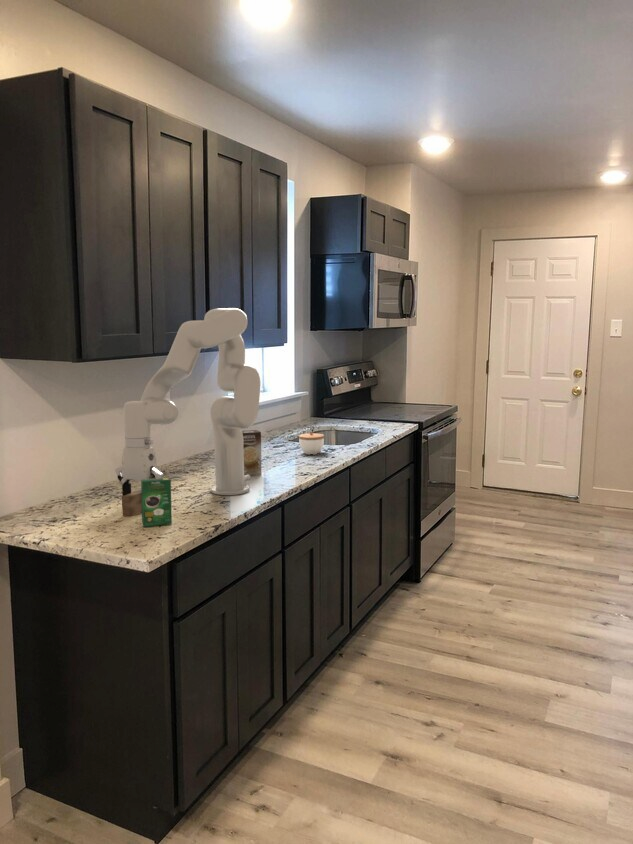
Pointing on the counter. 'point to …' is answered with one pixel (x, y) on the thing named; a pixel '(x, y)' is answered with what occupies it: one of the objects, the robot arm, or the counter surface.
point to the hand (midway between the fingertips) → (139, 498)
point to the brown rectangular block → (132, 503)
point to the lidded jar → (311, 442)
